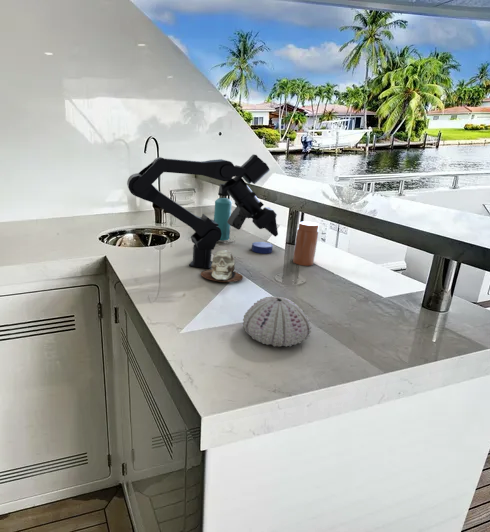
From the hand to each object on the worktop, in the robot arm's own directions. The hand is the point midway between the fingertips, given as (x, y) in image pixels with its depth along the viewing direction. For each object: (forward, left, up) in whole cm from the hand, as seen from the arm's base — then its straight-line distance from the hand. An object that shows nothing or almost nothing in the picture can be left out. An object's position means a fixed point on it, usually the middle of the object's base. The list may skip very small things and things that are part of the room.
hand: (270, 231), depth 119 cm
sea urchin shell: (-48, -6, -11) cm, 49 cm away
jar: (+5, -11, -11) cm, 16 cm away
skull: (-19, +11, -11) cm, 24 cm away
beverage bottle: (+18, +19, -11) cm, 29 cm away
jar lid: (+13, +3, -9) cm, 16 cm away
